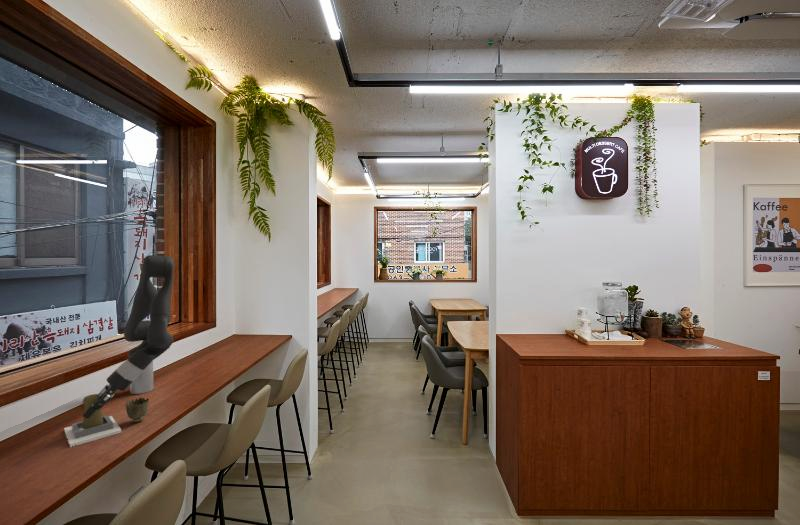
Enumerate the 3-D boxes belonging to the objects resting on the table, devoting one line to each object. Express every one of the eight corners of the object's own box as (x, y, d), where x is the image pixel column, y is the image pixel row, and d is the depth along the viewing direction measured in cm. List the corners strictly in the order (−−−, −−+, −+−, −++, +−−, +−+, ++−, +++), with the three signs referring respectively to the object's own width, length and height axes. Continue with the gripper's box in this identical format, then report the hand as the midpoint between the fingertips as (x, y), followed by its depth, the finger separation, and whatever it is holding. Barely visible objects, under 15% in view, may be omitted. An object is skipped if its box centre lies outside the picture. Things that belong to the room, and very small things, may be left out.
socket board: (64, 430, 138) (64, 422, 138) (111, 418, 148) (111, 410, 148) (70, 447, 125) (69, 438, 125) (121, 432, 136) (121, 424, 136)
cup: (154, 418, 147) (153, 398, 147) (135, 426, 140) (134, 405, 140) (140, 416, 149) (139, 396, 149) (121, 424, 143) (120, 403, 142)
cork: (91, 429, 133) (90, 398, 133) (77, 428, 135) (76, 398, 134) (107, 422, 139) (106, 392, 139) (94, 421, 140) (93, 391, 140)
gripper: (116, 364, 147) (77, 403, 140) (116, 373, 135) (73, 416, 128) (134, 375, 150) (96, 413, 143) (134, 385, 138) (93, 427, 131)
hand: (85, 414), depth 136 cm, fingers closed on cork, 4 cm apart
